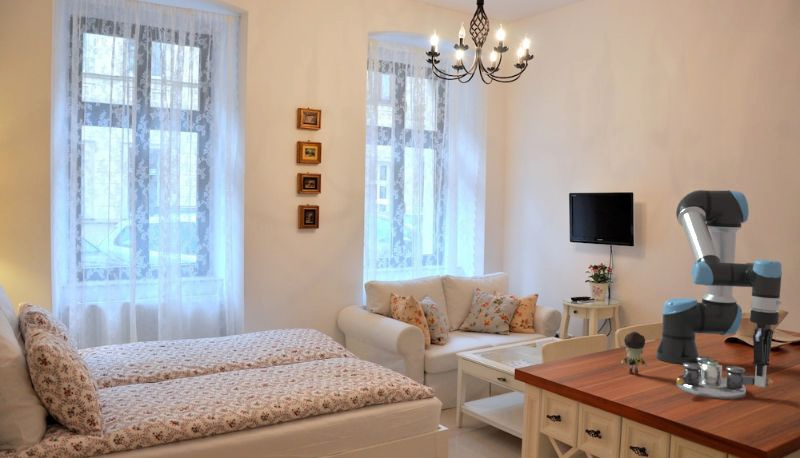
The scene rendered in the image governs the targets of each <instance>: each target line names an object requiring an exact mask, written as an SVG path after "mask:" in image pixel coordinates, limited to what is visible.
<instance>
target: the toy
mask: <svg viewBox="0 0 800 458" xmlns="http://www.w3.org/2000/svg"><path fill="white" fill-rule="evenodd" d="M645 344H646V338H645V336H644V335H642V334H640V333H639V332H638V331H632V332H630V333H628V334H626V336H624V345H625V353H626V354H627V355H626V356H625V357H624V358H623V359H622V360H621V362H620V364H622V365H623V364H626V365H628V366H629V370H628V371H629V374H630V375H632V374H633V373H634V374H635V375H638V374H639V370H638V369H639V367H638V366H639V363H641V365H642V366H643V367H645V368H647V367H648V364H647V363H646V362H645V360H644V359H643V358H642V357H641V355H643V354H644V353H643V352H644V351H645V350H644V347H645ZM633 367H634V369H633ZM633 371H634V372H633Z"/></svg>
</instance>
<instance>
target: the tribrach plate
mask: <svg viewBox="0 0 800 458" xmlns="http://www.w3.org/2000/svg"><path fill="white" fill-rule="evenodd" d="M722 372H723V364H720V363H718V364H717V363H716V362H713V361H707V362H703V363H701V377H700V376H699V384H698V385H691V384H684V385H683V386H682V385H678V384H677V383H676V387H678V389H680V390H681V391H683V392H685V393H689V394H692V395H695V396H700V397H704V398H708V399H709V398H710V399H717V400H736V399H737V400H739V399H742V398H745V397H746V394H747V387H746V385H745V384H743V385H742V389H734V388H730V387H727V377H723V376H722V375H723V373H722Z"/></svg>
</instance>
